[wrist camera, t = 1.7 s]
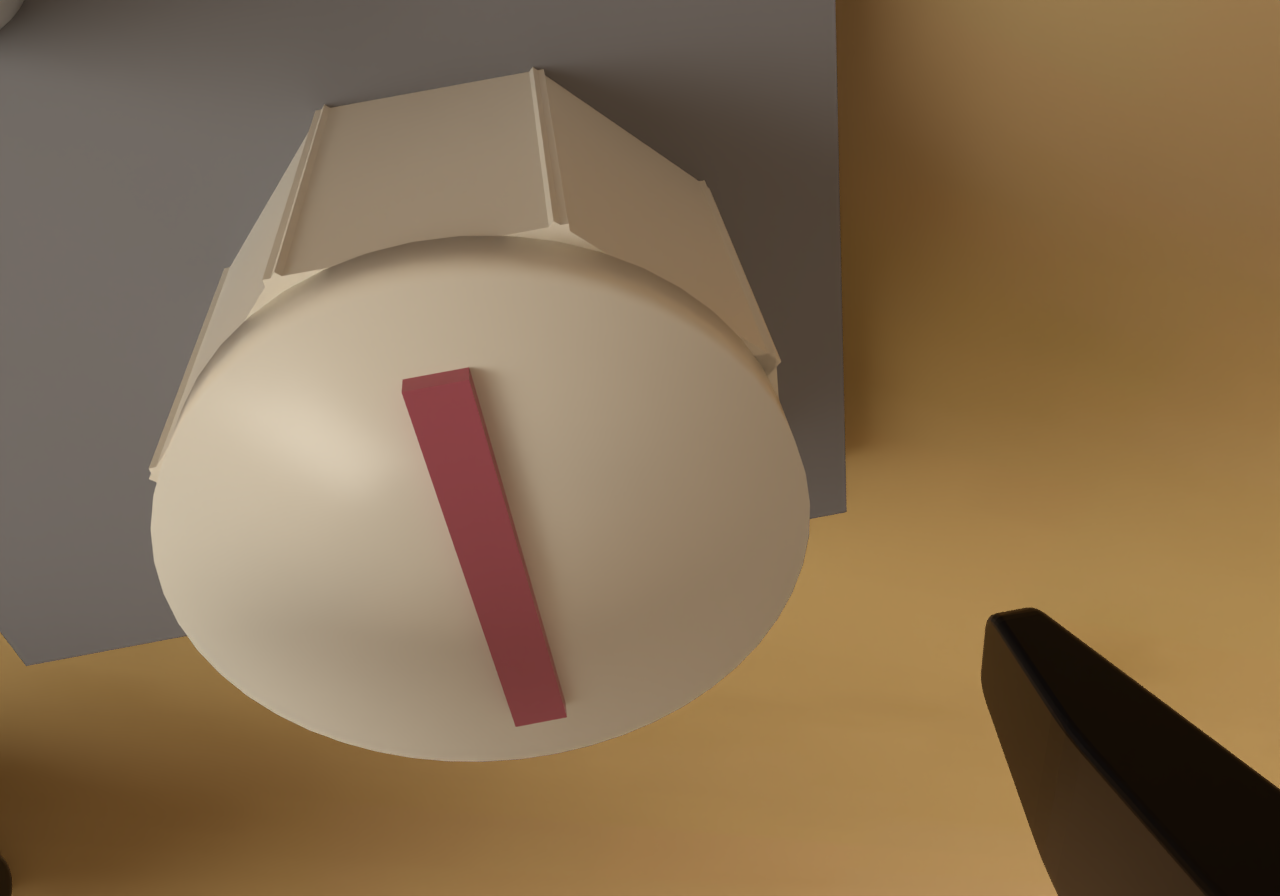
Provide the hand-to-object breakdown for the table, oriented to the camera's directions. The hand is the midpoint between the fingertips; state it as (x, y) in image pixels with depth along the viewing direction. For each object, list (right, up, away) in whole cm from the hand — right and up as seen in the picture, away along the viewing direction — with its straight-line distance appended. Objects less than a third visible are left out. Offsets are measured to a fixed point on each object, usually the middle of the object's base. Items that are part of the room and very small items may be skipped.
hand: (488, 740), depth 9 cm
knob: (-1, +4, +6) cm, 7 cm away
